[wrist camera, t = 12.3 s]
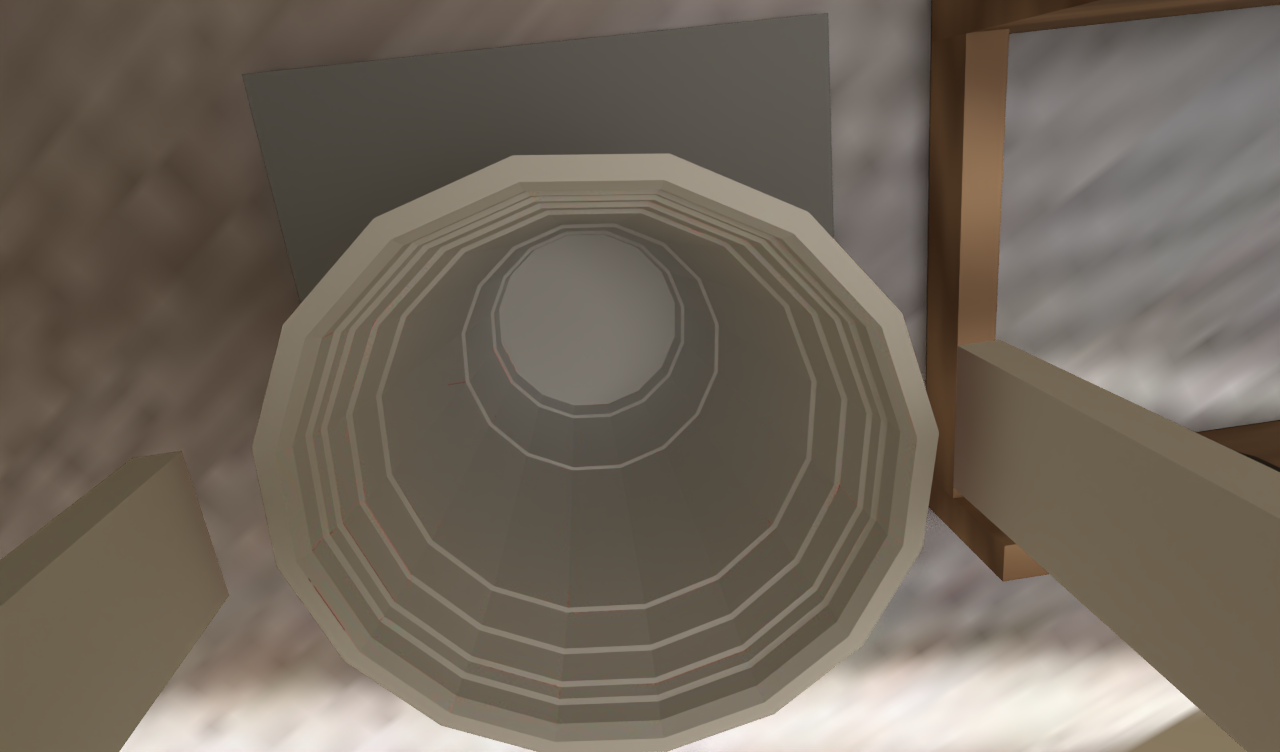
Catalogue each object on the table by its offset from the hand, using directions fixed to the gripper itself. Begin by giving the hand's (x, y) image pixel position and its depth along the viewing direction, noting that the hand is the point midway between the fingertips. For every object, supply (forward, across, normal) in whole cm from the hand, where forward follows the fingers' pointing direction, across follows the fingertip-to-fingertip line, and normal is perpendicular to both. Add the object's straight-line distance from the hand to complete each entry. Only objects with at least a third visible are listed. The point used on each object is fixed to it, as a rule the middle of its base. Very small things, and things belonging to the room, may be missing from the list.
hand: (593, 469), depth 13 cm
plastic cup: (+11, 0, 0) cm, 11 cm away
